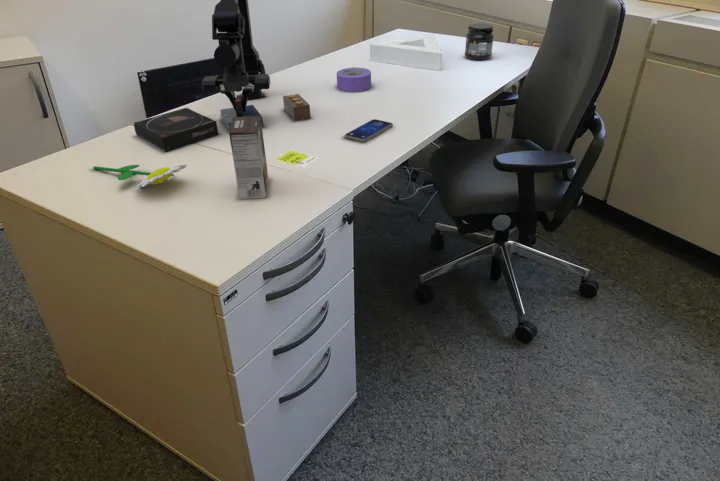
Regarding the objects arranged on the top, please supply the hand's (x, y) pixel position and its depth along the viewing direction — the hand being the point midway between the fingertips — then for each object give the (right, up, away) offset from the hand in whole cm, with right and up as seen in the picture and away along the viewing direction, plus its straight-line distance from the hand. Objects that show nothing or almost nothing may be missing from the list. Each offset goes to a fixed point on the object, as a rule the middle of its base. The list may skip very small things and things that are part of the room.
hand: (240, 111), depth 162 cm
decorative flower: (-19, -24, -29) cm, 42 cm away
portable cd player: (-17, -8, -5) cm, 19 cm away
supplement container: (+82, +34, +57) cm, 105 cm away
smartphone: (+38, -7, -6) cm, 39 cm away
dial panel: (0, -3, +2) cm, 4 cm away
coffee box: (+10, -26, -33) cm, 44 cm away
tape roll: (+33, +15, +29) cm, 46 cm away
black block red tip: (0, 0, 0) cm, 0 cm away
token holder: (+16, +1, +7) cm, 17 cm away
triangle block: (+52, +33, +55) cm, 83 cm away
